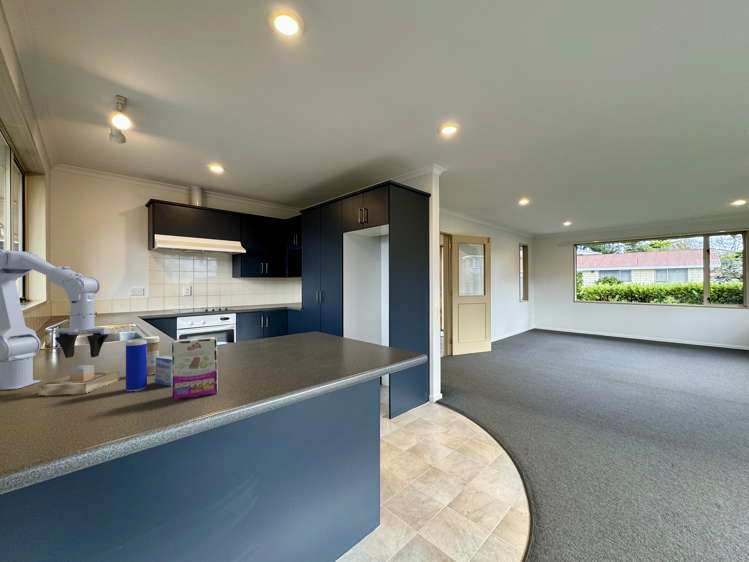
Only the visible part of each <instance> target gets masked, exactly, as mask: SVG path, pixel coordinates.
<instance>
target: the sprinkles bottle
mask: <svg viewBox="0 0 749 562" xmlns="http://www.w3.org/2000/svg"><path fill="white" fill-rule="evenodd" d="M143 340H146V342H147V376H154V375H153V374H155V375H156V358H157V357H160V344H159V343H160V336H159V335H157V336H156V335H154V336H153V335H152V336H145V337H144V338H143Z"/></svg>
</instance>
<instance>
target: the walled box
mask: <svg viewBox="0 0 749 562" xmlns="http://www.w3.org/2000/svg"><path fill="white" fill-rule="evenodd" d="M94 375H103V377H101V378H98V379H95V380H93V381H90V382H87V383H75V384H59V382H61V381H64V380H67V379H70V375H67V376H64V377H61V378H58V379H55V380H52V381H48V382H45V383H43V384H38V389H37V390H38V396H39V395H45V396H62V395H61V394H71V395H86V394H85V393H87V394H89V393H88V392H90V393H92V392H94V391H96V390H95V389H97V390H99V389H101V387H102V388H104V387H106V386H108V384H109V385H111V384H114V383H116V382H118V381H117V380H119V381H120V371H119V370H118V371H96V372H95V371H94ZM115 381H116V382H115ZM113 382H114V383H113ZM110 383H111V384H110ZM105 385H106V386H105ZM103 386H104V387H103ZM98 388H99V389H98ZM93 390H94V391H93ZM91 391H92V392H91ZM39 397H40V396H39Z"/></svg>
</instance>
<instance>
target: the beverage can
mask: <svg viewBox="0 0 749 562" xmlns="http://www.w3.org/2000/svg"><path fill="white" fill-rule="evenodd" d="M147 386H148V375H147V342H146V340H144V339H135V340H134V339H133V340H132V339H131V340H127V341H126V343H125V390H126V391H127V392H128V391H129V392H128V393H131V392H130V391H135V392H139V390H140V391H143V390H145V389H146V388H147ZM142 389H143V390H142Z"/></svg>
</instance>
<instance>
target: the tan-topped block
mask: <svg viewBox="0 0 749 562" xmlns="http://www.w3.org/2000/svg"><path fill="white" fill-rule="evenodd" d="M94 372H95V365H94V364H91V365H89V364H87V365H86V364H85V365H79V366H74V367H71V368H69V376H70V381H85V380H88V379H90V378H93V377H94Z"/></svg>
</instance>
